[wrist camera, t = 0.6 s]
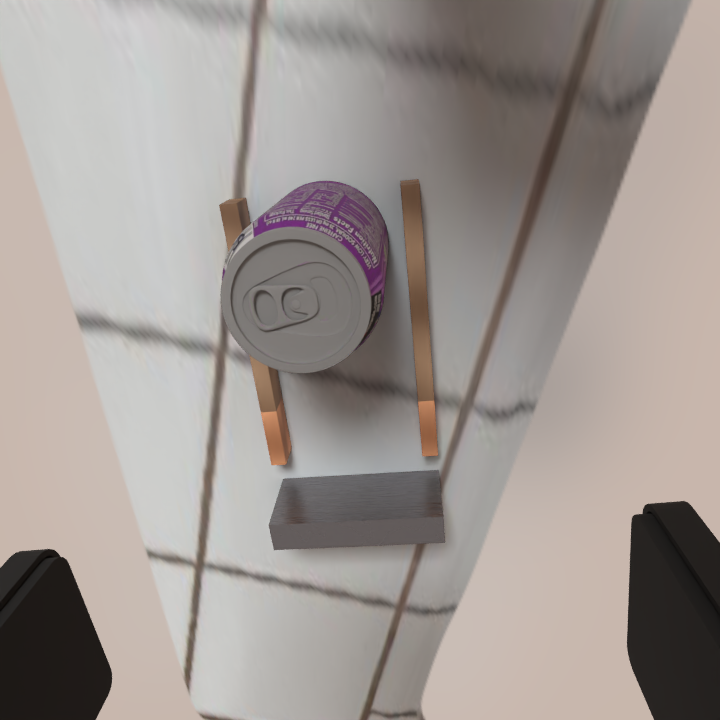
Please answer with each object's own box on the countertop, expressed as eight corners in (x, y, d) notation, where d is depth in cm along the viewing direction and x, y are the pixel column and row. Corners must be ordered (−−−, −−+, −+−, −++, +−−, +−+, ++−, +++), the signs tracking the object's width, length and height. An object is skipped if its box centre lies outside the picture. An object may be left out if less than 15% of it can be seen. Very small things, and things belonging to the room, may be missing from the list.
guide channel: (229, 199, 34) (202, 214, 29) (418, 179, 33) (421, 191, 28) (287, 501, 42) (274, 549, 38) (440, 494, 41) (444, 542, 37)
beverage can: (283, 305, 36) (232, 392, 25) (258, 189, 34) (188, 229, 23) (396, 290, 35) (394, 373, 24) (379, 170, 33) (368, 203, 22)
